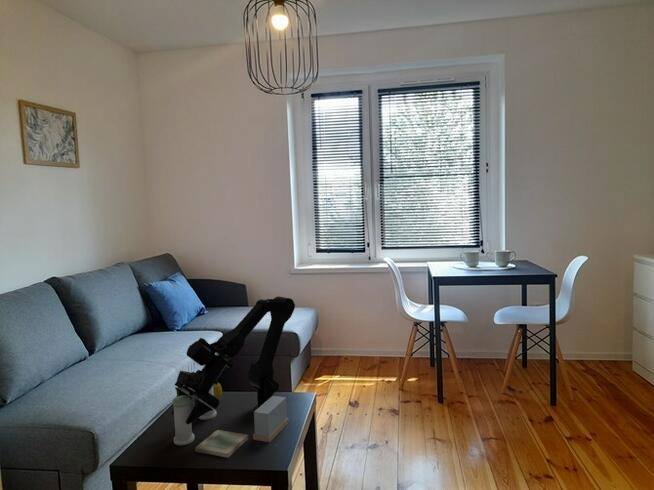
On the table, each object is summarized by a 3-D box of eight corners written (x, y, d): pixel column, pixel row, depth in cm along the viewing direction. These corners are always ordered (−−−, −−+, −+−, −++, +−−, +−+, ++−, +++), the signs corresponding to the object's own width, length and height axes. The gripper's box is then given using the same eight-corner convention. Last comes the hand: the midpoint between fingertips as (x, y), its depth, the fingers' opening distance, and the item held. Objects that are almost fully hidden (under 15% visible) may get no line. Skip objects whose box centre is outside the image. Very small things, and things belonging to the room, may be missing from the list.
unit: (273, 420, 150) (272, 395, 149) (288, 422, 148) (287, 397, 147) (253, 439, 138) (251, 412, 137) (269, 442, 136) (268, 414, 135)
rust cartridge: (205, 410, 159) (203, 374, 158) (220, 413, 157) (218, 376, 156) (194, 418, 153) (192, 380, 152) (209, 420, 151) (207, 382, 150)
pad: (217, 433, 142) (217, 429, 142) (248, 438, 138) (248, 434, 138) (195, 451, 132) (195, 447, 132) (228, 457, 128) (227, 453, 128)
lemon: (207, 406, 162) (205, 384, 162) (206, 400, 168) (205, 379, 167) (223, 404, 164) (221, 382, 163) (222, 398, 169) (221, 377, 168)
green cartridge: (182, 434, 143) (179, 393, 142) (198, 436, 141) (195, 395, 140) (169, 443, 137) (166, 401, 136) (186, 446, 135) (183, 404, 134)
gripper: (178, 353, 147) (146, 397, 140) (208, 366, 133) (174, 416, 127) (202, 371, 153) (172, 414, 146) (232, 385, 139) (201, 433, 133)
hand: (179, 418), depth 138 cm, fingers open, 9 cm apart
